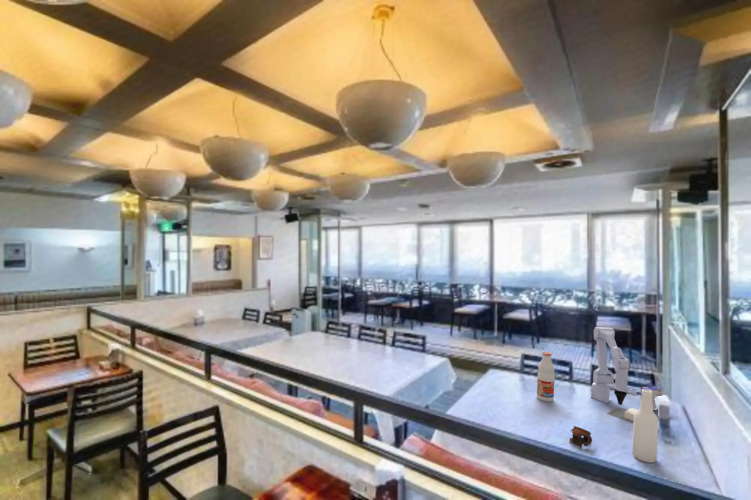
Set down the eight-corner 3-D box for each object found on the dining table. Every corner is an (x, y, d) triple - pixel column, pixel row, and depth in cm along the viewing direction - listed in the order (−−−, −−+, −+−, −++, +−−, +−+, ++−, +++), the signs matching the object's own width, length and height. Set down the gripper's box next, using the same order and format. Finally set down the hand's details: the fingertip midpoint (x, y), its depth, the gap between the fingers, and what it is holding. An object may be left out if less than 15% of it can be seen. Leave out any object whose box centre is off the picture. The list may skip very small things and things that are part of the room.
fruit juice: (544, 394, 236) (546, 350, 236) (557, 400, 228) (559, 354, 227) (533, 396, 233) (535, 351, 232) (545, 402, 224) (547, 355, 224)
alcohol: (657, 466, 161) (660, 396, 161) (632, 459, 166) (635, 391, 165) (655, 456, 168) (658, 389, 168) (631, 450, 173) (634, 385, 173)
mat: (605, 414, 211) (605, 413, 211) (618, 407, 220) (618, 406, 220) (635, 424, 199) (635, 423, 199) (647, 417, 209) (647, 416, 209)
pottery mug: (563, 440, 181) (567, 423, 184) (579, 448, 182) (583, 431, 185) (582, 447, 170) (586, 428, 172) (599, 455, 171) (603, 437, 173)
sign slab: (624, 411, 206) (639, 416, 200) (631, 407, 211) (645, 412, 205) (624, 418, 206) (639, 423, 200) (631, 414, 211) (645, 418, 205)
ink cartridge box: (653, 406, 224) (654, 382, 224) (662, 410, 218) (663, 385, 218) (639, 407, 222) (640, 382, 222) (648, 411, 216) (649, 386, 216)
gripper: (604, 377, 215) (603, 401, 215) (633, 385, 203) (632, 410, 203) (609, 375, 219) (608, 398, 219) (638, 383, 207) (637, 407, 208)
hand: (620, 404), depth 212 cm, fingers closed
